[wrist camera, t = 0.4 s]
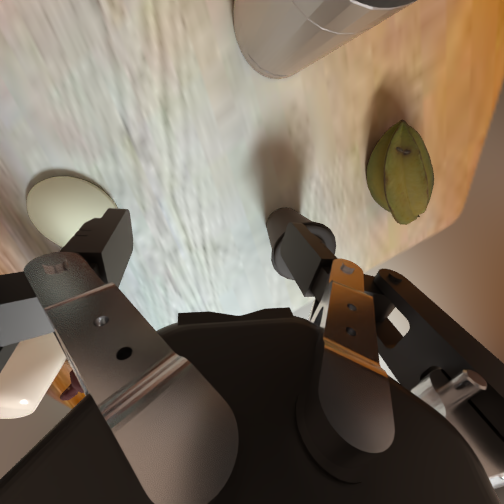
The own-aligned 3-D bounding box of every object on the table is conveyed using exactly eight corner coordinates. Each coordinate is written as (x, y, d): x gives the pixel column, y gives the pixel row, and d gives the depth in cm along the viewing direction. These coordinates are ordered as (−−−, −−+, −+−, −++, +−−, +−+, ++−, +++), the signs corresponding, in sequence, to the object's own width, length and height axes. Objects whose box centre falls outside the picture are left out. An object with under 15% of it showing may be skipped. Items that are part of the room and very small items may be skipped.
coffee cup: (261, 251, 35) (277, 292, 27) (253, 205, 31) (269, 235, 23) (309, 240, 36) (339, 277, 27) (307, 192, 31) (342, 218, 23)
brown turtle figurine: (87, 356, 32) (37, 392, 36) (125, 384, 34) (73, 416, 38) (116, 324, 39) (71, 358, 43) (147, 349, 41) (101, 380, 45)
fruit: (338, 207, 34) (363, 224, 28) (373, 118, 28) (414, 117, 22) (397, 216, 36) (431, 233, 31) (440, 137, 30) (492, 140, 25)
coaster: (27, 163, 24) (22, 164, 24) (125, 191, 27) (123, 193, 27) (34, 239, 29) (30, 242, 28) (118, 256, 32) (116, 259, 31)
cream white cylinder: (28, 308, 26) (-49, 386, 18) (86, 315, 28) (39, 388, 20) (32, 340, 28) (-34, 421, 21) (85, 345, 30) (43, 420, 22)
